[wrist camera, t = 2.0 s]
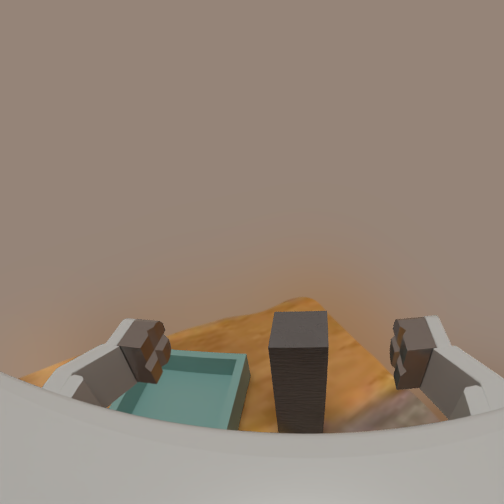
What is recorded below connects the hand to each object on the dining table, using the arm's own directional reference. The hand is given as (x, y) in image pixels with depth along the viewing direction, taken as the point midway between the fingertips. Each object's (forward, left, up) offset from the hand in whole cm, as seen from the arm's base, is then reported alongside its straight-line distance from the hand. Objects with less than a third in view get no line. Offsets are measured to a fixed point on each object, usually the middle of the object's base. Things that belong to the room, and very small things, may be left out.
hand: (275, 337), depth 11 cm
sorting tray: (-14, +12, -24) cm, 30 cm away
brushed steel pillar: (0, +12, -24) cm, 27 cm away
